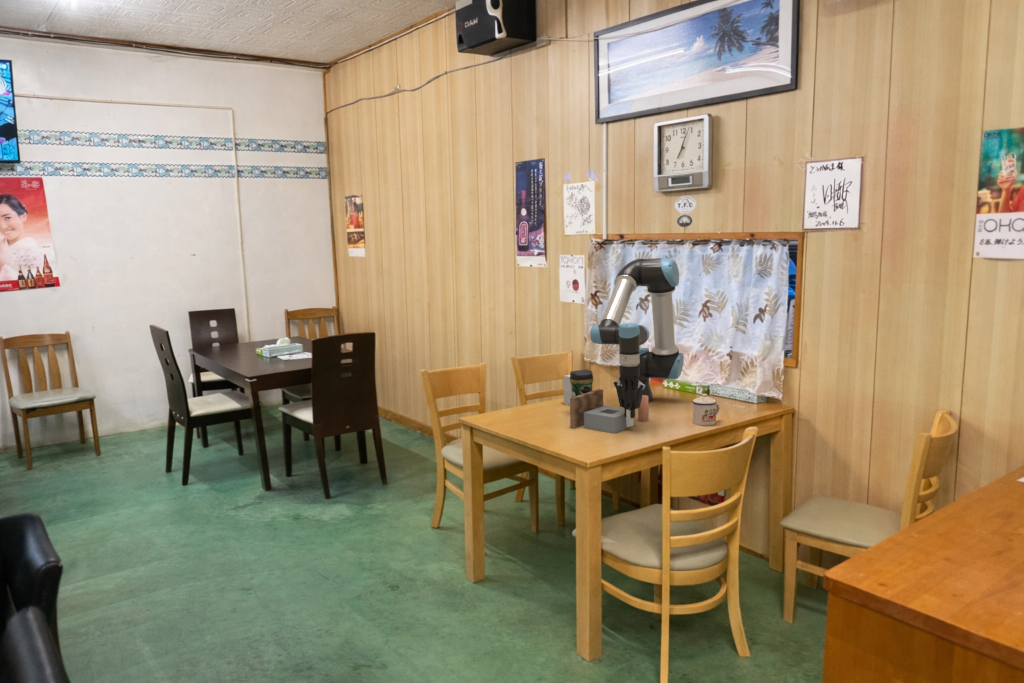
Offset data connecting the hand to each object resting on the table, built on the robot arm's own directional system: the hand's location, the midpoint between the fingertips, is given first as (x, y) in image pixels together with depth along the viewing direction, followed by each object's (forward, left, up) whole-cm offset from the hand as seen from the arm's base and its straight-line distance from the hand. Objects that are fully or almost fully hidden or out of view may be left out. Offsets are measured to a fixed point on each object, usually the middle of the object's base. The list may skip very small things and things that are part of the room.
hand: (629, 425), depth 273 cm
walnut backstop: (0, -20, -2) cm, 20 cm away
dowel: (-16, -4, -2) cm, 16 cm away
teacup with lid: (-27, +18, -2) cm, 33 cm away
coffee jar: (-12, -31, -2) cm, 33 cm away
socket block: (0, -9, -2) cm, 9 cm away
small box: (-25, -44, -2) cm, 50 cm away
